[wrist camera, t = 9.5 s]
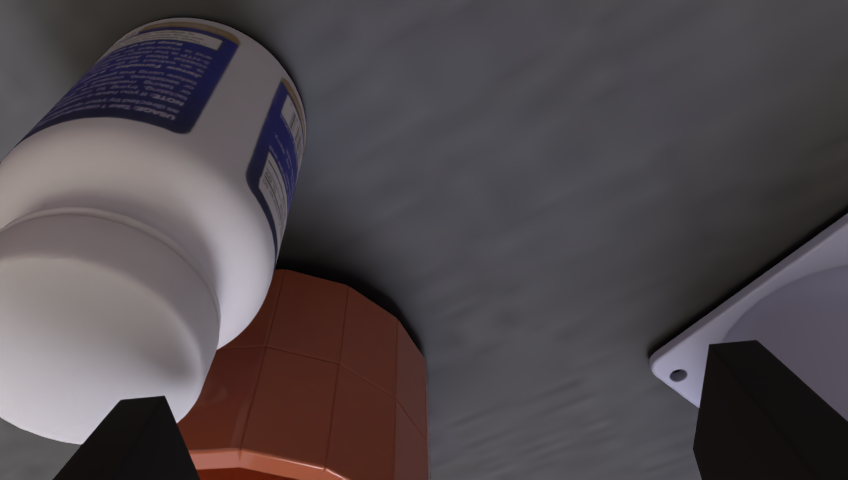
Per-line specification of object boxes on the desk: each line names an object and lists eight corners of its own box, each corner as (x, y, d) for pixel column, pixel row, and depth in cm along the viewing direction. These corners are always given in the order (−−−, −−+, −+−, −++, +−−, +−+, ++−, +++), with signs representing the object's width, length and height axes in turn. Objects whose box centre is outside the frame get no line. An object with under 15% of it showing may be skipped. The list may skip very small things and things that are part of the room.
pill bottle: (58, 125, 19) (-170, 371, 12) (166, -35, 17) (-29, 140, 9) (234, 240, 21) (137, 513, 14) (352, 110, 19) (311, 348, 11)
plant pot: (487, 364, 24) (511, 567, 18) (313, 504, 27) (285, 710, 22) (242, 200, 20) (172, 385, 14) (82, 386, 24) (-25, 593, 18)
